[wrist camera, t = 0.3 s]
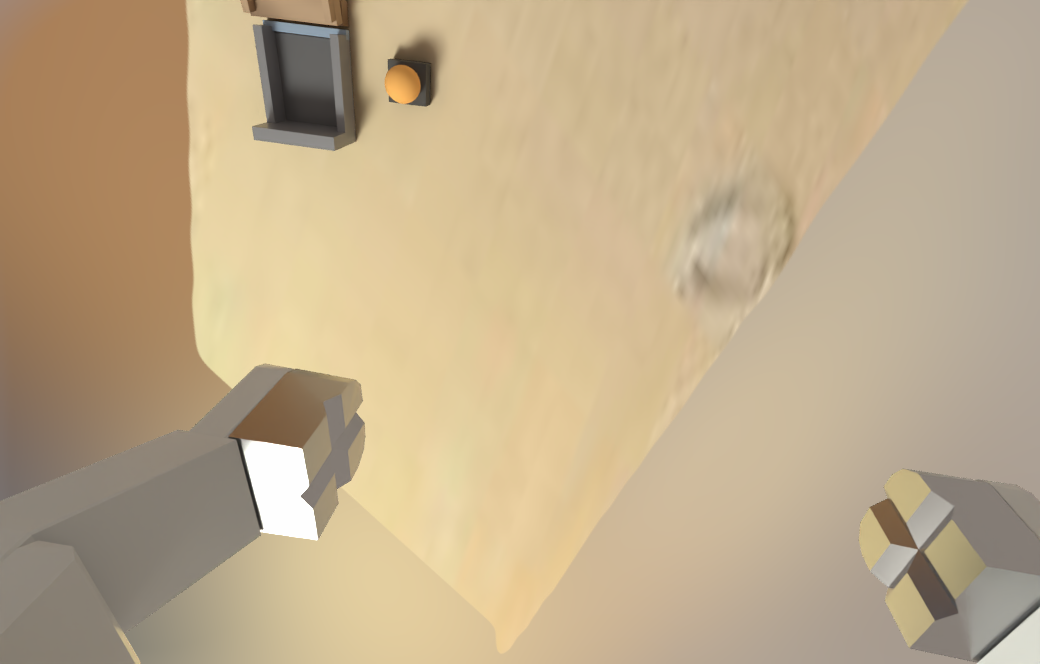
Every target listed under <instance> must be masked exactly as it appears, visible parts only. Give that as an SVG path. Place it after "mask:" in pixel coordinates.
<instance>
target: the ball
mask: <svg viewBox="0 0 1040 664" xmlns="http://www.w3.org/2000/svg"><path fill="white" fill-rule="evenodd" d="M420 87H421V85H420V80H419V77H418V75H417V73H416V72H415V71H414V70H413V69H412V68H410V67H408V66H406V65H396V66H394V67H392V68H391V69H390V70H389V71H388V72H387V74H386V77H385V88H386V91H387V93H388V95H389V96H390V97H391V98H392V99H393V100H394V101H396V102H398V103H402V104H406V103H410V102H412V101H414V100H415V99H416V98H417V97H418V95H419V93H420Z"/></svg>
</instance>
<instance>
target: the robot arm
mask: <svg viewBox="0 0 1040 664" xmlns="http://www.w3.org/2000/svg"><path fill="white" fill-rule="evenodd" d="M362 401H363V400H362V392H361V384H360V383H358V382H357V381H356V380H354V379H348V378H343V377H338V376H332V375H327V374H321V373H316V372H311V371H305V370H300V369H291V368H286V367H281V366H275V365H270V364H263V365H259V366H256V367H255V368H254V369H253V370H252V371H251V372H249V373H248V374H247V375H246V376H245V377H244V378H243V379H242V380H241V381H240V382H239V383H238V384H237V385H236V386H235V387H234V388H233V389H232V390H231V391H230V392H229V393H228V394H227V395H226V396H225V397H224V398H223V399H222V400H221V401H220V402H219V403H217V404H216V406H215V407H213V408H212V410H210V411H209V412H208V413H207V414H206V415H205V416H204V417H203V418H202V419H201V420H200V421H199V422H198V423H197V424H196V425H195V426H194V427H193V428H192V429H191V430H190V431H183V430H176V431H174V432H171V433H169V434H167V435H164V436H162V437H159V438H157V439H154V440H151V441H149V442H146V443H144V444H141V445H139V446H137V447H134V448H131V449H129V450H127V451H124V452H122V453H119V454H117V455H114V456H112V457H109V458H107V459H104V460H102V461H99V462H97V463H94V464H92V465H89V466H87V467H84V468H82V469H79V470H77V471H74V472H72V473H69V474H67V475H64V476H62V477H59V478H57V479H54V480H52V481H49V482H47V483H44V484H42V485H40V486H37V487H34V488H32V489H29V490H27V491H25V492H22V493H19V494H17V495H14V496H12V497H9V498H7V499H4V500H2V501H0V664H141V663H140V660H139V659H138V657H137V655H136V653H135V652H134V650H133V648H132V647H131V645H130V643H129V641H128V640H127V638H126V636H125V635H124V634H125V633H126V632H128V631H129V630H130V629H132V628H133V627H135V626H136V625H137V624H139V623H140V622H141V621H143V620H144V619H145V618H147V617H148V616H150V615H151V614H153V613H154V612H155V611H157V610H158V609H159V608H161V607H162V606H164V605H165V604H166V603H168V602H169V601H170V600H172V599H173V598H175V597H176V596H177V595H179V594H180V593H182V592H183V591H184V590H186V589H187V588H188V587H190V586H191V585H193V584H194V583H195V582H197V581H198V580H200V579H201V578H202V577H204V576H205V575H206V574H208V573H209V572H210V571H212V570H213V569H215V568H216V567H218V566H219V565H220V564H222V563H223V562H224V561H226V560H227V559H228V558H230V557H231V556H233V555H234V554H236V553H237V552H238V551H240V550H241V549H242V548H244V547H245V546H247V545H248V544H249V543H251V542H252V541H253V540H255V539H256V538H257V537H259V536H260V535H261V531H262V532H269V533H275V534H282V535H288V536H295V537H301V538H307V539H314V540H318V539H319V537H320V536H321V534H322V532H323V530H324V528H325V527H326V525H327V523H328V521H329V519H330V518H331V516H332V514H333V512H334V511H335V509H336V506H337V505H338V496H337V489H338V488H339V487H341V486H343V485H344V484H346V483H348V482H349V481H351V480H352V478H353V476H354V474H355V472H356V470H357V468H358V466H359V463H360V460H361V456H362V453H363V450H364V442H365V423H364V422H363V420H362V419H361V418H360V417H359V416H358V414H357V413H356V411H357V409H358V408H359V406H360V405H361V403H362ZM884 489H885V493H886V496H887V499H885V500H883V501H881V502H879V503H877V504H875V505H873V506H871V507H869V509H868V511H867V513H866V514H865V516H864V517H863V519H862V521H861V522H860V532H859V544H860V548H861V553H862V556H863V558H864V560H865V562H866V564H867V566H868V568H869V571H870V572H871V573H872V574H874V575H875V576H876V577H877V578H878V579H879V580H880V581H881V582H883V583H884V584H885V585H886V586H887V587H888V590H887V594H886V597H885V602H886V604H887V606H888V608H889V610H890V612H891V614H892V616H893V618H894V620H895V622H896V624H897V626H898V627H899V629H900V631H901V633H902V635H903V637H904V639H905V641H906V643H907V645H908V647H909V648H911V649H916V650H920V651H925V652H930V653H934V654H939V655H944V656H948V657H954V658H958V659H963V660H967V661H973V662H977V664H1040V501H1039V500H1038V499H1037V498H1036V497H1035V496H1034V495H1033V494H1032V493H1030V492H1029V491H1027V490H1025V489H1023V488H1021V487H1020V486H1018V485H1013V484H1006V483H999V482H992V481H985V480H972V479H966V478H960V477H953V476H947V475H941V474H934V473H928V472H922V471H915V470H909V469H902V470H900V471H898V472H896V473H894V474H893V475H892V476H891V477H890V479H889V480H888V481H887V483H886V484H885V486H884Z"/></svg>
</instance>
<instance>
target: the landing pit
mask: <svg viewBox="0 0 1040 664" xmlns="http://www.w3.org/2000/svg"><path fill="white" fill-rule="evenodd" d="M253 30H254V37H255V43H256V50H257V57H258V63H259V70H260V77H261V83H262V90H263V97H264V104H265V110H266V117H267V123H263V124H259V125H256V126H252V129H253V136H254V140H259V141H267V142H274V143H281V144H289V145H296V146H303V147H310V148H318V149H325V150H332V151H335V150H338V149H340V148H342V147H344V146H347V145H349V144H351V143H353V142H355V141H356V131H355V115H354V100H353V84H352V69H351V53H350V38H349V30H344V29H336V28H328V27H320V26H311V25H303V24H295V23H287V22H279V21H270V20H263V25H253ZM276 31H277V32H276ZM279 32H285V33H279ZM287 33H293V34H287ZM296 34H301V35H296ZM304 35H310V36H304ZM312 36H318V37H312ZM320 37H326V38H320ZM328 38H330V39H328Z"/></svg>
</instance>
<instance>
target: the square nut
mask: <svg viewBox="0 0 1040 664" xmlns="http://www.w3.org/2000/svg"><path fill="white" fill-rule="evenodd" d="M396 65H406V66H408V67H410V68H412V69H413V70H414V71H415V72H416V73H417V75H418V77H419V80H420V85H421V87H420V93H419V95H418V97H417V98H416V99H415V100H414V101H412V102H410V103H406V104H410V105H418V106H428V105H430V68H431V63H425V62H417V61H409V60H401V59H388V71H389V70H390V69H391V68H392V67H394V66H396ZM389 102H395V103H398V102H396V101H394V100H393V99H392V98H391V97H390V96H389Z"/></svg>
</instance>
